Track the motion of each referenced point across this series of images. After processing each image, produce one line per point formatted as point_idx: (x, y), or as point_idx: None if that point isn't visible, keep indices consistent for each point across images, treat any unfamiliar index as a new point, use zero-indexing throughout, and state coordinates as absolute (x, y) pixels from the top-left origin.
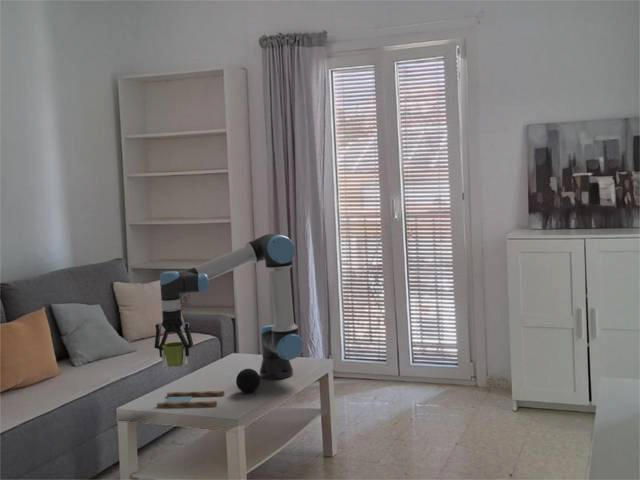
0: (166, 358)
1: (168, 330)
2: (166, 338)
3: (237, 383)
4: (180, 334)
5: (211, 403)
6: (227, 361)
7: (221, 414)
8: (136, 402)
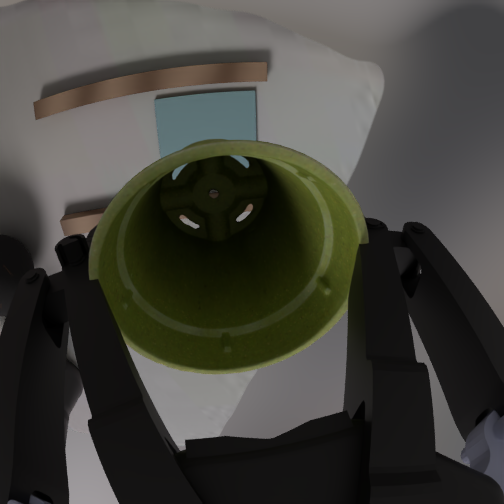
0: (279, 172)
1: (363, 450)
2: (350, 345)
3: (13, 250)
4: (96, 402)
5: (47, 97)
6: (209, 427)
7: (4, 33)
8: (358, 136)
